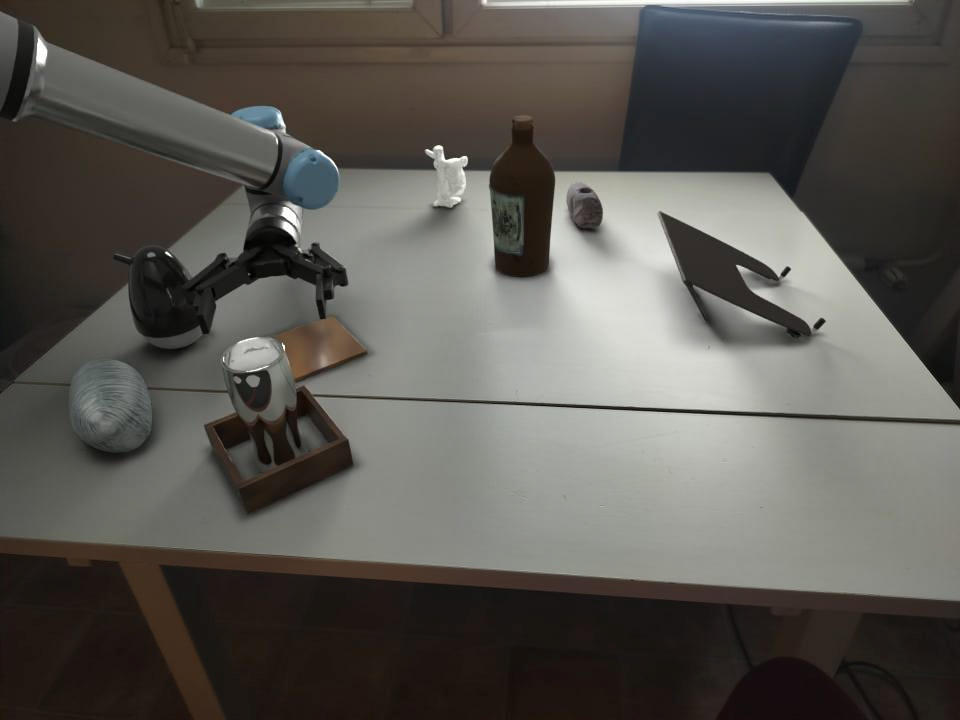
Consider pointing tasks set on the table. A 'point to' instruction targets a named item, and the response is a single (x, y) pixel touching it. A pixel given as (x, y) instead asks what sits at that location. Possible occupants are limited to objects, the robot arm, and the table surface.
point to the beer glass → (264, 399)
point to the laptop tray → (726, 274)
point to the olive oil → (522, 204)
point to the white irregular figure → (448, 177)
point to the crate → (290, 473)
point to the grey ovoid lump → (110, 406)
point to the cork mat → (319, 347)
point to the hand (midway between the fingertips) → (262, 317)
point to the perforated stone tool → (584, 205)
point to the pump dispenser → (160, 298)
